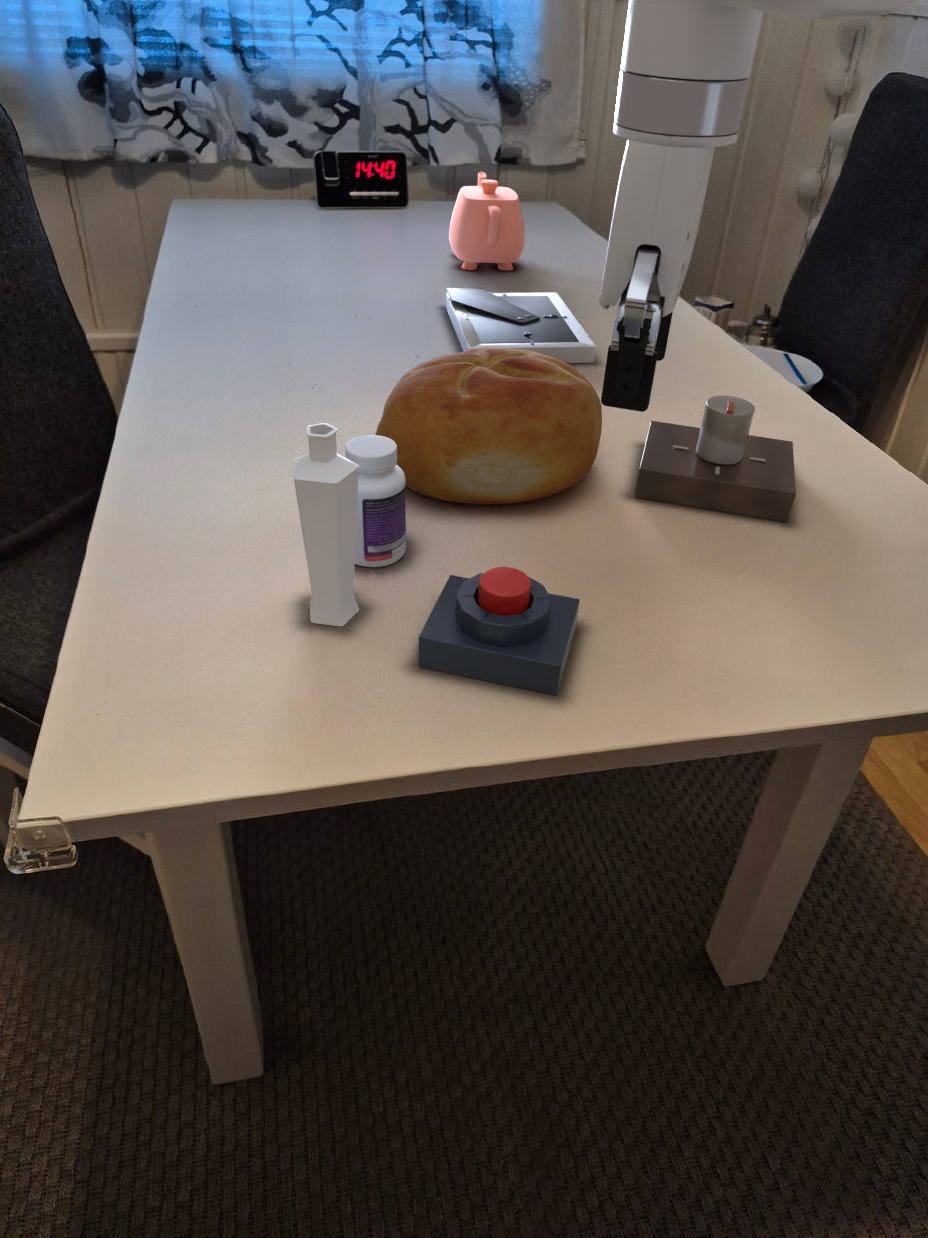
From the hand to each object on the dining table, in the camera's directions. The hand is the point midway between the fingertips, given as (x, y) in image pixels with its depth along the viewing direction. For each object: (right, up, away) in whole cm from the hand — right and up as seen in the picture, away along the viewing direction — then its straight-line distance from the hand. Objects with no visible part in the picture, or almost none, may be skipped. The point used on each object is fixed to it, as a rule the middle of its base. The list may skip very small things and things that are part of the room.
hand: (634, 380), depth 63 cm
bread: (-10, -2, +24) cm, 26 cm away
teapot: (-9, +41, +79) cm, 89 cm away
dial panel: (+12, -4, +22) cm, 26 cm away
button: (-9, -16, -1) cm, 19 cm away
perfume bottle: (-22, -17, +3) cm, 28 cm away
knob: (+12, -1, +21) cm, 24 cm away
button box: (-10, -19, +1) cm, 22 cm away
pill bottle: (-20, -12, +10) cm, 25 cm away
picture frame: (-5, +20, +53) cm, 57 cm away
